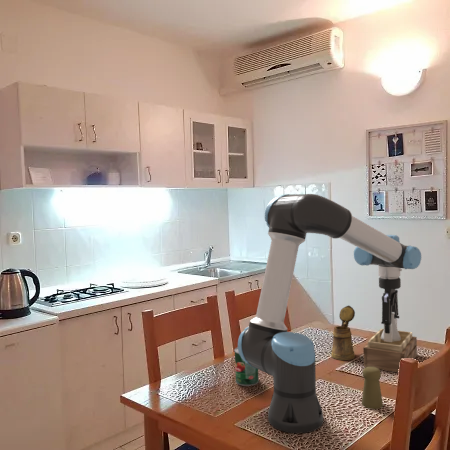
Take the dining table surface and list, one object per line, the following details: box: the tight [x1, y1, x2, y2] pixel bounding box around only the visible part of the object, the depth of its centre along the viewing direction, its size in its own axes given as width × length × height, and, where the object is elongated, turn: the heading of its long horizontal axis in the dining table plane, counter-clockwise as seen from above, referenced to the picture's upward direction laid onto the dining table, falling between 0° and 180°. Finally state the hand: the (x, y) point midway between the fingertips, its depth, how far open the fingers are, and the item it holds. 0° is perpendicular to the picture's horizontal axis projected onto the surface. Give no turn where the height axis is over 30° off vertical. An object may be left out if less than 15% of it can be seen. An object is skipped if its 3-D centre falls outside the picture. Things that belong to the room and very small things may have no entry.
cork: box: [361, 367, 384, 410], centre depth 137 cm, size 6×6×11 cm
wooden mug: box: [330, 305, 356, 361], centre depth 180 cm, size 9×14×18 cm, turn 147°
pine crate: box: [367, 328, 413, 352], centre depth 172 cm, size 18×12×8 cm, turn 147°
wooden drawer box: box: [362, 335, 418, 373], centre depth 172 cm, size 21×14×7 cm, turn 147°
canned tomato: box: [234, 346, 260, 387], centre depth 158 cm, size 8×8×11 cm
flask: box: [381, 312, 401, 342], centre depth 171 cm, size 7×7×10 cm
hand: (390, 338), depth 172 cm, fingers closed on flask, 7 cm apart
